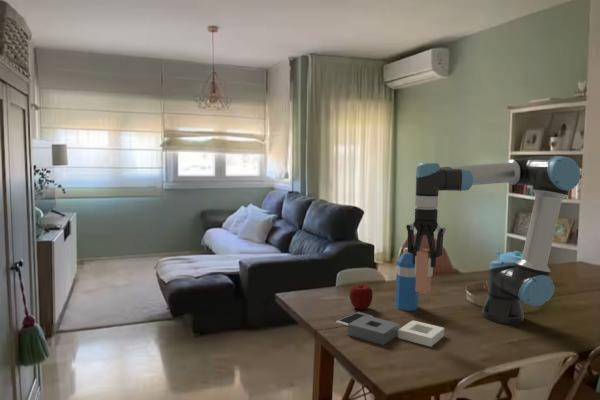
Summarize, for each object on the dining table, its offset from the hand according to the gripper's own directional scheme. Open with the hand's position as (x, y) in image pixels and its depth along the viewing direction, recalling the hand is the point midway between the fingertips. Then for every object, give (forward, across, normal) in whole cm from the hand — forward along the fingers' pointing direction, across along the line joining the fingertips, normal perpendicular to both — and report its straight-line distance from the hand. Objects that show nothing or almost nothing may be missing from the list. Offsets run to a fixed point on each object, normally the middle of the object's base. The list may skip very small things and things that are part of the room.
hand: (423, 274), depth 163 cm
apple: (+23, +32, -13) cm, 41 cm away
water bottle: (+23, +18, -27) cm, 40 cm away
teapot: (+23, -4, -111) cm, 113 cm away
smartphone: (+23, +27, 0) cm, 35 cm away
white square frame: (+22, 0, 0) cm, 22 cm away
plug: (+6, 0, 0) cm, 6 cm away
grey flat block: (+22, +14, +9) cm, 28 cm away
